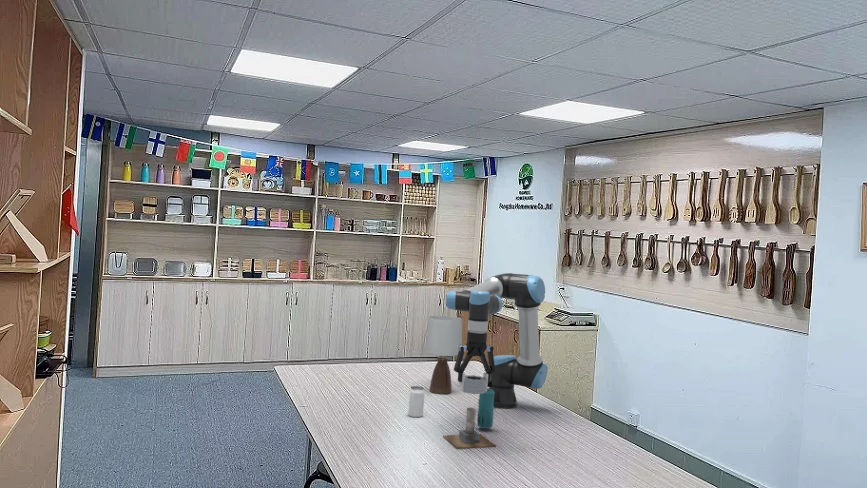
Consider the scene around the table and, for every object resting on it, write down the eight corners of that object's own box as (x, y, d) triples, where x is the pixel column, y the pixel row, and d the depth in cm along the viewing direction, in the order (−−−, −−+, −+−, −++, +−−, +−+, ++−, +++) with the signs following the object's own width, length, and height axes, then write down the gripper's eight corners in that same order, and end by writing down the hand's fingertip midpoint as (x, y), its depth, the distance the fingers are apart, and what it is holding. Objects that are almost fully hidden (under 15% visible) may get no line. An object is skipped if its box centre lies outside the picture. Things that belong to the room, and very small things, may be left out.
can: (421, 418, 277) (423, 390, 277) (406, 416, 278) (408, 388, 278) (424, 414, 284) (426, 387, 283) (409, 412, 285) (411, 385, 285)
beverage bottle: (494, 428, 269) (497, 380, 269) (490, 432, 263) (493, 383, 263) (478, 426, 272) (482, 378, 271) (474, 430, 265) (478, 381, 265)
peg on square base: (480, 435, 259) (482, 403, 259) (496, 446, 246) (498, 413, 246) (442, 437, 254) (445, 404, 253) (456, 448, 240) (459, 414, 240)
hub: (478, 388, 255) (479, 375, 255) (488, 393, 247) (489, 380, 247) (457, 388, 252) (458, 375, 252) (466, 394, 244) (467, 380, 244)
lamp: (466, 394, 325) (471, 320, 324) (435, 397, 314) (440, 321, 314) (444, 385, 340) (449, 315, 340) (414, 388, 330) (419, 315, 329)
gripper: (498, 330, 257) (494, 387, 257) (447, 329, 249) (443, 388, 249) (507, 333, 250) (503, 392, 250) (454, 332, 242) (450, 393, 242)
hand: (473, 390), depth 250 cm, fingers closed on hub, 9 cm apart
